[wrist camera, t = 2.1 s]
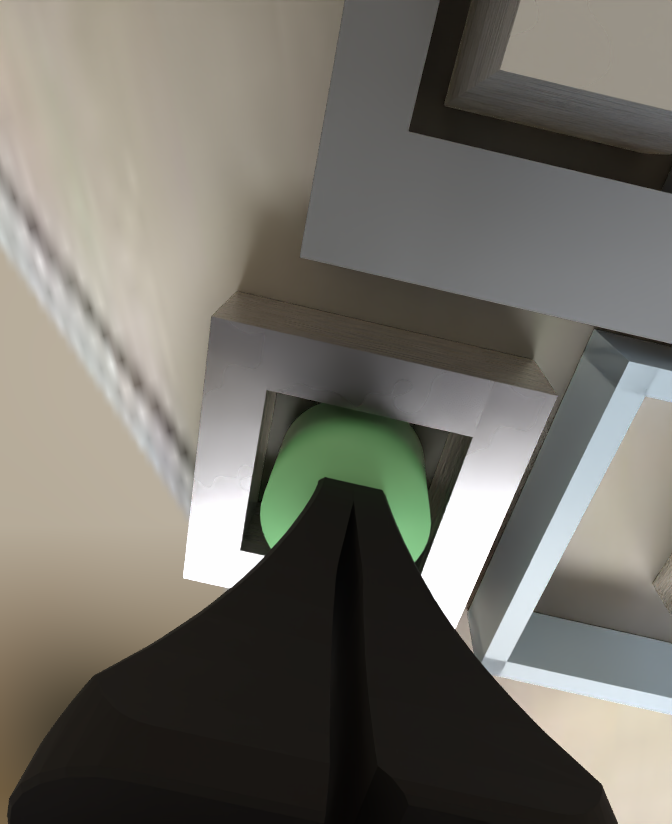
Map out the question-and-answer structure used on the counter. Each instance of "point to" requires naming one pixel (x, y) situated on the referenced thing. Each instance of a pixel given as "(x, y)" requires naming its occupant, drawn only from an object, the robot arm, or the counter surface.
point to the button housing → (371, 393)
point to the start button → (349, 469)
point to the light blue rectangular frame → (553, 529)
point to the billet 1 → (571, 68)
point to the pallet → (473, 199)
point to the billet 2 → (665, 584)
